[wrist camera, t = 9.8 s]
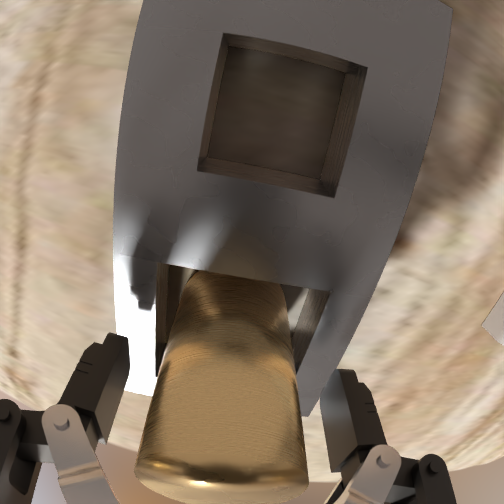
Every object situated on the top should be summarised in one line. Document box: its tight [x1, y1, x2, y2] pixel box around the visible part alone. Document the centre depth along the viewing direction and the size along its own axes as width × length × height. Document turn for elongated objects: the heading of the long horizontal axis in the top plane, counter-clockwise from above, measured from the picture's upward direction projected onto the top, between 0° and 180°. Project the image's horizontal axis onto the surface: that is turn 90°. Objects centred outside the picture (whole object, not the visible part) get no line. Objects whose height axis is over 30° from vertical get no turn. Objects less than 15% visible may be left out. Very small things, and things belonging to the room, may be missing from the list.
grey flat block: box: [113, 0, 453, 417], centre depth 12 cm, size 10×20×2 cm, turn 169°
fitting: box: [134, 270, 309, 504], centre depth 11 cm, size 5×5×9 cm
